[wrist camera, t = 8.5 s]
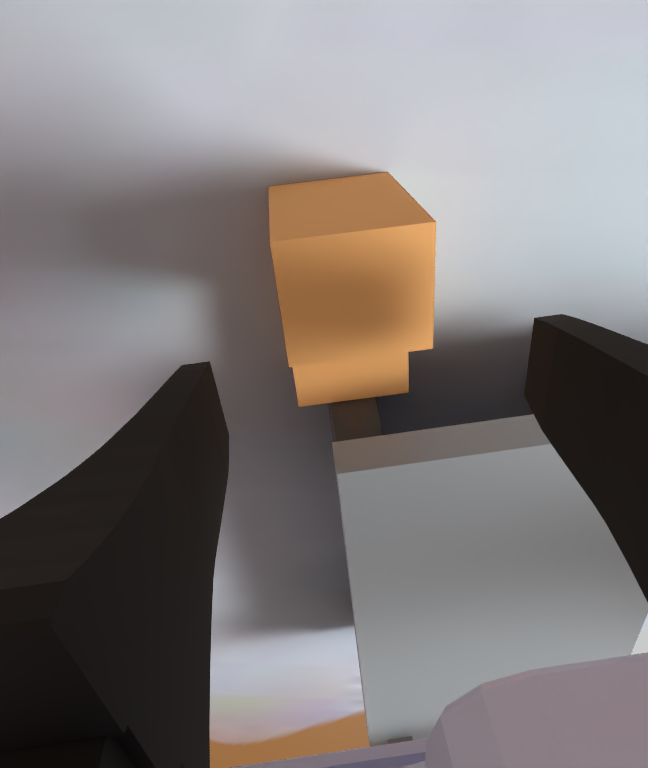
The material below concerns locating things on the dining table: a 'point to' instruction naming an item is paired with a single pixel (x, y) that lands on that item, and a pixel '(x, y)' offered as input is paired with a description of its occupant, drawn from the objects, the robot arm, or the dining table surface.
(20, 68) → the dining table surface
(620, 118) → the dining table surface
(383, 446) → the toy platform cart
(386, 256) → the orange block
